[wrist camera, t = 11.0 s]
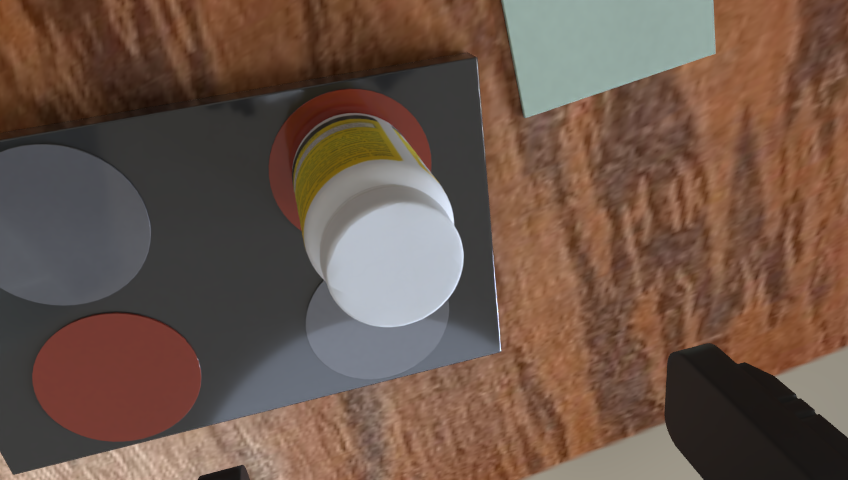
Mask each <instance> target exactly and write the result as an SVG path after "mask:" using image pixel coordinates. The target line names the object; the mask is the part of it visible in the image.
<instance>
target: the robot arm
mask: <svg viewBox="0 0 848 480" xmlns="http://www.w3.org/2000/svg"><path fill="white" fill-rule="evenodd" d="M665 422H666V426H667V429H668V432H669V435H670V436H671V439H672V441H673V442H674V444H675V446H676V447H677V448H678V449H679V451H680V452H681V453H682V454H683V455H684V457H685V458H686V459H687V460H688V461H689V463H690V464H691V465H692V466H693V467H694V469H695V470H696V471H697V472H698V473H699V474H700V476H701V477H702V478H703V479H704V480H848V438H847V437H846V436H845V435H844V434H843V433H841V432H840V431H839V430H838V429H837V428H835V427H834V426H833V425H832V424H831V423H829V422H828V421H827V420H826V419H825V418H823V417H822V416H821V415H820V414H818V415H817V414H816V413H815V410H814V409H813V408H812V407H810V406H809V405H808V404H807V403H806V402H804V401H803V400H802V399H798V398H797V397H796V394H795V393H794V392H792V391H791V390H790V389H789V388H788V387H786V386H785V385H784V384H783V383H782V382H780V381H779V380H778V379H777V378H776V377H775V376H773V375H771V374H769V373H767V372H764V371H762V370H760V369H758V368H756V367H754V366H752V365H749V364H747V363H745V362H744V363H740V364H736V363H735V362H734V361H733V360H732V359H731V358H730V357H728V356H727V355H726V354H725V353H724V352H723V351H722V350H720V349H719V348H718V347H717V346H715V345H713V344H710V343H707V344H703V345H699V346H696V347H692V348H688V349H684V350H680V351H677V352H673V353H671V354H670V356H669V358H668V363H667V380H666V397H665ZM198 480H250V479H249V476H248V473H247V470H246V468H245V466H244V465H240V466H236V467H232V468H229V469H225V470H221V471H217V472H214V473H210V474H206V475H202V476H200V477H199V478H198Z"/></svg>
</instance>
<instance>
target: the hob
mask: <svg viewBox="0 0 848 480" xmlns="http://www.w3.org/2000/svg"><path fill="white" fill-rule="evenodd" d="M346 113H361V114H367V115H371V116H375V117H378V118H380V119H382V120H384V121H386V122H388V123H389V124H391V125H392V126H393V127H395V128H396V129H397V130H398V131H399V132H400V133H401V134H402V136H403V137H404V138H405V139H406V141H407V142H408V143H409V144H410V146H411V147H412V148H413V150H414V151H415V152H416V154H417V155H418V156H419V157H420V159H421V160H422V162H423V163H424V164H425V166H426V167H427V168H428V169H429V171H430V172H431V173H432V175H433V176H434V177H435V178H436V180H437V181H438V182H439V184H440V185H441V187H442V188H443V190H444V191H445V193H446V195H447V197H448V199H449V202H450V204H451V207H452V211H453V217H454V226H455V228H456V230H457V232H458V234H459V236H460V238H461V242H462V246H463V255H464V259H463V268H462V272H461V276H460V279H459V281H458V284H457V286H456V288H455V290H454V291H453V293H452V294H451V296H450V297H449V298H448V299H447V300H446V302H445V303H444V304H443V305H442V306H441V307H440V308H438V309H437V310H436V311H435V312H433V313H432V314H430V315H429V316H427V317H425V318H423V319H421V320H419V321H417V322H414V323H411V324H407V325H404V326H398V327H378V326H372V325H368V324H365V323H363V322H360V321H358V320H356V319H354V318H352V317H351V316H349V315H348V314H347V313H345V312H344V311H343V310H342V309H341V308H340V307H339V306H338V305H337V303H336V302H335V301H334V299H333V297H332V295H331V294H330V292H329V289H328V286H327V283H326V281H325V280H324V279H323V278H321V276H320V275H319V274H318V273H317V271H316V270H315V268H314V267H313V265H312V263H311V261H310V259H309V257H308V255H307V252H306V249H305V245H304V240H303V235H302V230H301V224H300V219H299V214H298V208H297V202H296V198H295V192H294V189H293V183H292V167H293V161H294V158H295V154H296V152H297V149H298V147H299V145H300V144H301V142H302V140H303V139H304V138H305V136H306V135H307V134H308V133H309V132H310V131H311V130H312V129H313V128H314V127H315V126H316V125H318V124H319V123H321V122H322V121H324V120H326V119H328V118H331V117H333V116H336V115H340V114H346ZM499 352H501V343H500V331H499V319H498V306H497V294H496V282H495V269H494V257H493V245H492V232H491V220H490V208H489V195H488V183H487V171H486V159H485V146H484V134H483V122H482V109H481V97H480V85H479V72H478V60H477V57H475V56H473V55H472V54H470V53H462V54H456V55H450V56H444V57H438V58H433V59H427V60H421V61H415V62H410V63H404V64H398V65H392V66H386V67H381V68H375V69H369V70H363V71H357V72H352V73H346V74H340V75H334V76H328V77H323V78H317V79H311V80H305V81H299V82H294V83H288V84H282V85H276V86H270V87H265V88H259V89H253V90H247V91H241V92H236V93H230V94H224V95H218V96H212V97H207V98H201V99H195V100H189V101H183V102H178V103H172V104H166V105H160V106H154V107H149V108H143V109H137V110H131V111H125V112H120V113H114V114H108V115H102V116H96V117H91V118H85V119H79V120H73V121H67V122H62V123H56V124H50V125H44V126H38V127H33V128H27V129H21V130H15V131H9V132H4V133H0V452H1V454H2V456H3V458H4V459H5V461H6V463H7V465H8V467H9V468H10V470H11V472H12V474H13V475H15V474H19V473H23V472H27V471H31V470H35V469H39V468H43V467H47V466H51V465H55V464H59V463H63V462H67V461H71V460H75V459H79V458H82V457H86V456H90V455H94V454H98V453H102V452H106V451H110V450H114V449H118V448H122V447H126V446H130V445H134V444H138V443H142V442H146V441H150V440H154V439H158V438H162V437H166V436H170V435H174V434H178V433H182V432H186V431H190V430H194V429H198V428H202V427H205V426H209V425H213V424H217V423H221V422H225V421H229V420H233V419H237V418H241V417H245V416H249V415H253V414H257V413H261V412H265V411H269V410H273V409H277V408H281V407H285V406H289V405H293V404H297V403H301V402H305V401H309V400H313V399H317V398H321V397H325V396H328V395H332V394H336V393H340V392H344V391H348V390H352V389H356V388H360V387H364V386H368V385H372V384H376V383H380V382H384V381H388V380H392V379H396V378H400V377H404V376H408V375H412V374H416V373H420V372H424V371H428V370H432V369H436V368H440V367H444V366H448V365H451V364H455V363H459V362H463V361H467V360H471V359H475V358H479V357H483V356H487V355H491V354H495V353H499Z"/></svg>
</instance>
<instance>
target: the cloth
mask: <svg viewBox="0 0 848 480" xmlns="http://www.w3.org/2000/svg"><path fill="white" fill-rule="evenodd" d="M501 2H502V7H503V12H504V18H505V23H506V28H507V33H508V38H509V44H510V49H511V54H512V59H513V64H514V69H515V75H516V80H517V85H518V90H519V95H520V101H521V106H522V111H523V116H524V118H527V117H530V116H533V115H536V114H539V113H542V112H545V111H548V110H550V109H553V108H556V107H559V106H562V105H565V104H568V103H571V102H574V101H577V100H580V99H583V98H586V97H589V96H592V95H595V94H598V93H601V92H603V91H606V90H609V89H612V88H615V87H618V86H621V85H624V84H627V83H630V82H633V81H636V80H639V79H642V78H645V77H648V76H651V75H653V74H656V73H659V72H662V71H665V70H668V69H671V68H674V67H677V66H680V65H683V64H686V63H689V62H692V61H695V60H698V59H701V58H703V57H706V56H709V55H712V54H715V31H714V7H713V0H501Z"/></svg>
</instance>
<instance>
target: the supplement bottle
mask: <svg viewBox="0 0 848 480" xmlns="http://www.w3.org/2000/svg"><path fill="white" fill-rule="evenodd" d="M292 183H293V189H294V192H295V198H296V202H297V208H298V214H299V219H300V224H301V230H302V235H303V240H304V245H305V249H306V252H307V255H308V257H309V259H310V261H311V263H312V265H313V267H314V268H315V270H316V271H317V273H318V274H319V275H320V276H321V278H323V279H324V280H325V281H326V283H327V286H328V289H329V292H330V294H331V295H332V297H333V299H334V301H335V302H336V303H337V305H338V306H339V307H340V308H341V309H342V310H343V311H344V312H345V313H347V314H348V315H349V316H351V317H352V318H354V319H356V320H358V321H360V322H363V323H365V324H368V325H372V326H378V327H398V326H404V325H407V324H411V323H414V322H417V321H419V320H421V319H423V318H425V317H427V316H429V315H430V314H432V313H433V312H435V311H436V310H437V309H438V308H440V307H441V306H442V305H443V304H444V303H445V302H446V300H447V299H448V298H449V297H450V296H451V294H452V293H453V291H454V290H455V288H456V286H457V284H458V281H459V279H460V276H461V272H462V268H463V259H464V255H463V246H462V242H461V238H460V236H459V234H458V232H457V230H456V228H455V226H454V217H453V211H452V207H451V204H450V202H449V199H448V197H447V195H446V193H445V191H444V190H443V188H442V187H441V185H440V184H439V182H438V181H437V180H436V178H435V177H434V176H433V175H432V173H431V172H430V171H429V169H428V168H427V167H426V166H425V164H424V163H423V162H422V160H421V159H420V157H419V156H418V155H417V154H416V152H415V151H414V150H413V148H412V147H411V146H410V144H409V143H408V142H407V141H406V139H405V138H404V137H403V136H402V134H401V133H400V132H399V131H398V130H397V129H396V128H395V127H393V126H392V125H391V124H389V123H388V122H386V121H384V120H382V119H380V118H378V117H375V116H371V115H367V114H361V113H346V114H340V115H336V116H333V117H331V118H328V119H326V120H324V121H322V122H321V123H319V124H318V125H316V126H315V127H314V128H313V129H312V130H311V131H310V132H309V133H308V134H307V135H306V136H305V138H304V139H303V140H302V142H301V144H300V145H299V147H298V149H297V152H296V154H295V158H294V161H293V167H292Z"/></svg>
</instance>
